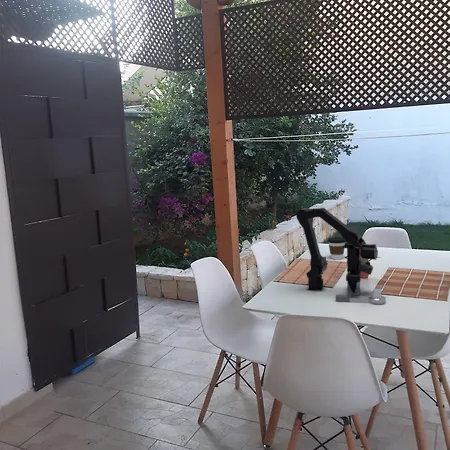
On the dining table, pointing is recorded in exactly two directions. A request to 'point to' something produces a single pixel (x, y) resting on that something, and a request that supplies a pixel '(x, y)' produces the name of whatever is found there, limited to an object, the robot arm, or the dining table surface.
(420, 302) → the dining table surface
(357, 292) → the gray block
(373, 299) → the gray handled tool
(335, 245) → the coffee cup
